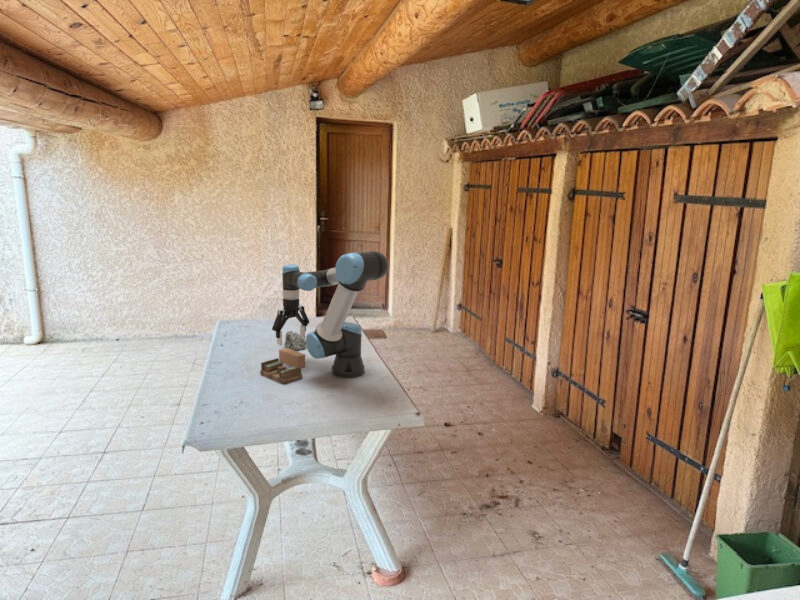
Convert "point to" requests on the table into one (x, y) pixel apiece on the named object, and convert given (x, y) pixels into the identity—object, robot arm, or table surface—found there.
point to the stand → (280, 372)
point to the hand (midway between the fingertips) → (291, 341)
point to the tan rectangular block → (292, 357)
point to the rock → (294, 341)
